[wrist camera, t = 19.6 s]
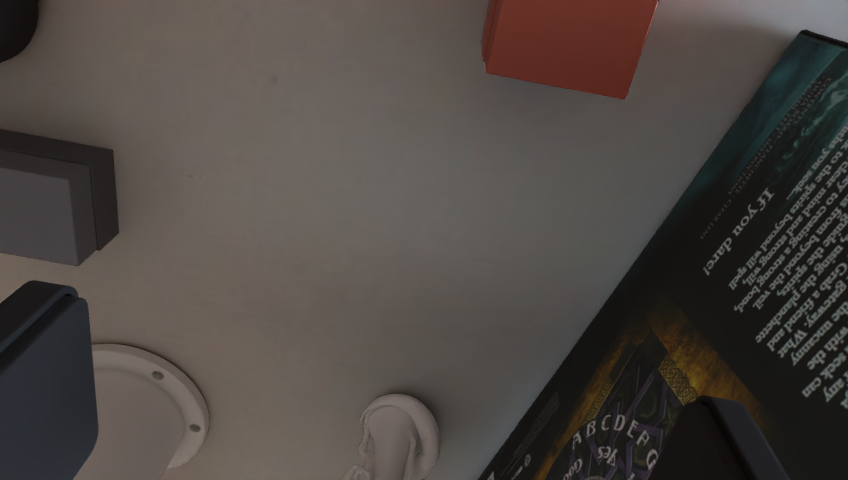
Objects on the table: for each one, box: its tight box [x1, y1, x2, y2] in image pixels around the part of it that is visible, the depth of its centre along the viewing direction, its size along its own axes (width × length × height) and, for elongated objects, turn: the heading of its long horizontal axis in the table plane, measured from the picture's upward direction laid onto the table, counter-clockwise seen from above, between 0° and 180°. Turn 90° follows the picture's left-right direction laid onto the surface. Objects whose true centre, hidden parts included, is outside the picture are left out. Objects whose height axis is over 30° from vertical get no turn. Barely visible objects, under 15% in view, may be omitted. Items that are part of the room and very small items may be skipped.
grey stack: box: [0, 129, 119, 266], centre depth 37 cm, size 9×6×5 cm, turn 80°
